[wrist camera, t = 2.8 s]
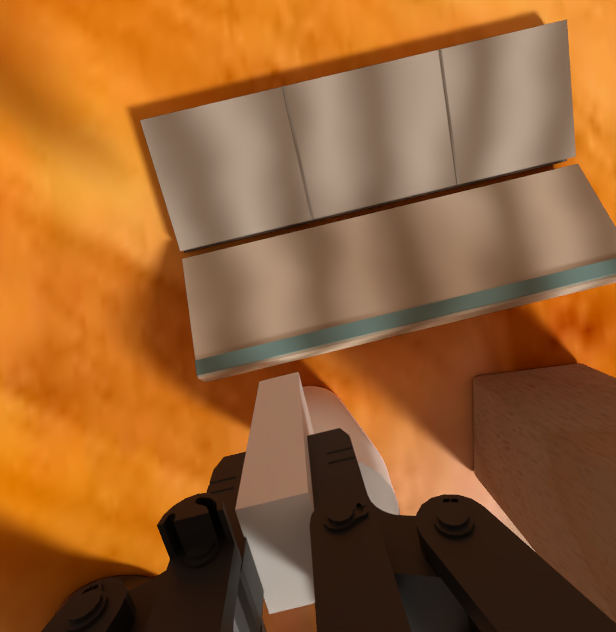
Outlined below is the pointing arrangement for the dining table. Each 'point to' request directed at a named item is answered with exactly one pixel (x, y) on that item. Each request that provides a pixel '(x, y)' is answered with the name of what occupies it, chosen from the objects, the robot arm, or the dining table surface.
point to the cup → (333, 415)
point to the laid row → (365, 137)
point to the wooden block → (554, 467)
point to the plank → (397, 271)
